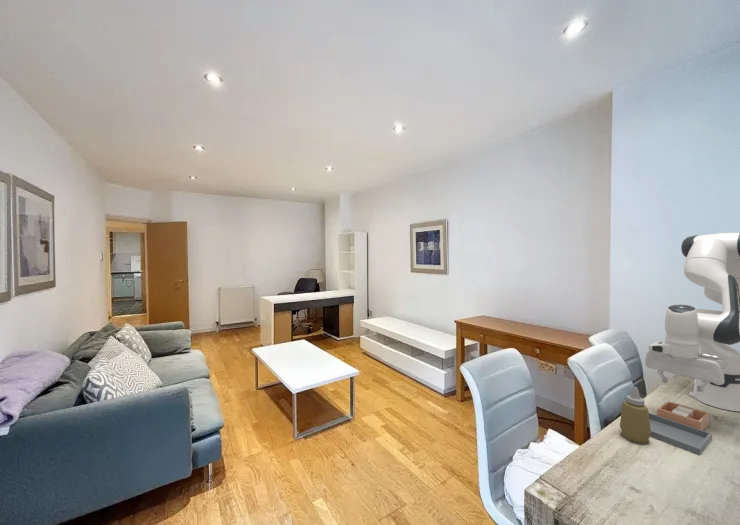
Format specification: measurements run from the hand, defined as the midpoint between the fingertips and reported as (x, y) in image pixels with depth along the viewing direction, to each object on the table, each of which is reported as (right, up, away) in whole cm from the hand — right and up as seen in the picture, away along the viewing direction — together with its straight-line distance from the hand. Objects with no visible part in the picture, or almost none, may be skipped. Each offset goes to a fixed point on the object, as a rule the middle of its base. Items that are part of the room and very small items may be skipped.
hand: (682, 386), depth 112 cm
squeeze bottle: (-25, -15, -9) cm, 30 cm away
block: (-1, -14, 0) cm, 13 cm away
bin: (+1, -14, +1) cm, 14 cm away
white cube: (+3, -13, +2) cm, 14 cm away
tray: (-11, -14, -7) cm, 19 cm away
